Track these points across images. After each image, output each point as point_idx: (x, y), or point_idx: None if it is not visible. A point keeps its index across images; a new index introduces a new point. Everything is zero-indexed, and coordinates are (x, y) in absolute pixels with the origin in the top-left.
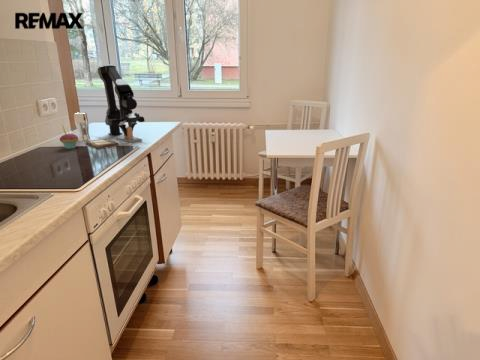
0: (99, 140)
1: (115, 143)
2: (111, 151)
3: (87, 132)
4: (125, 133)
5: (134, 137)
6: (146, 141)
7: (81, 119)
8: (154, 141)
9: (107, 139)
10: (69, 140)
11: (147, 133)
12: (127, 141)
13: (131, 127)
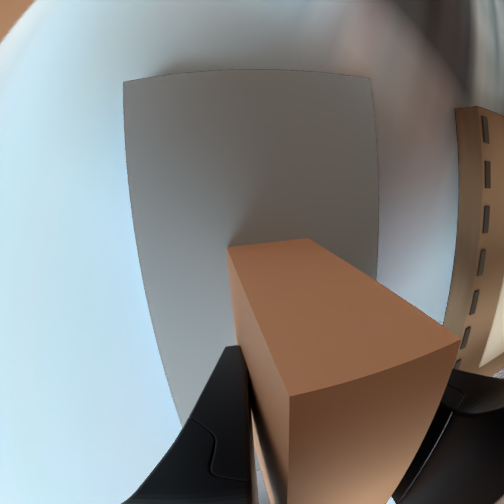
0: (501, 339)
1: (494, 113)
2: (495, 11)
3: None
4: None
5: (180, 301)
6: (78, 73)
7: None
8: (18, 29)
9: (461, 357)
10: None
11: (19, 462)
12: (368, 136)
13: (292, 423)
